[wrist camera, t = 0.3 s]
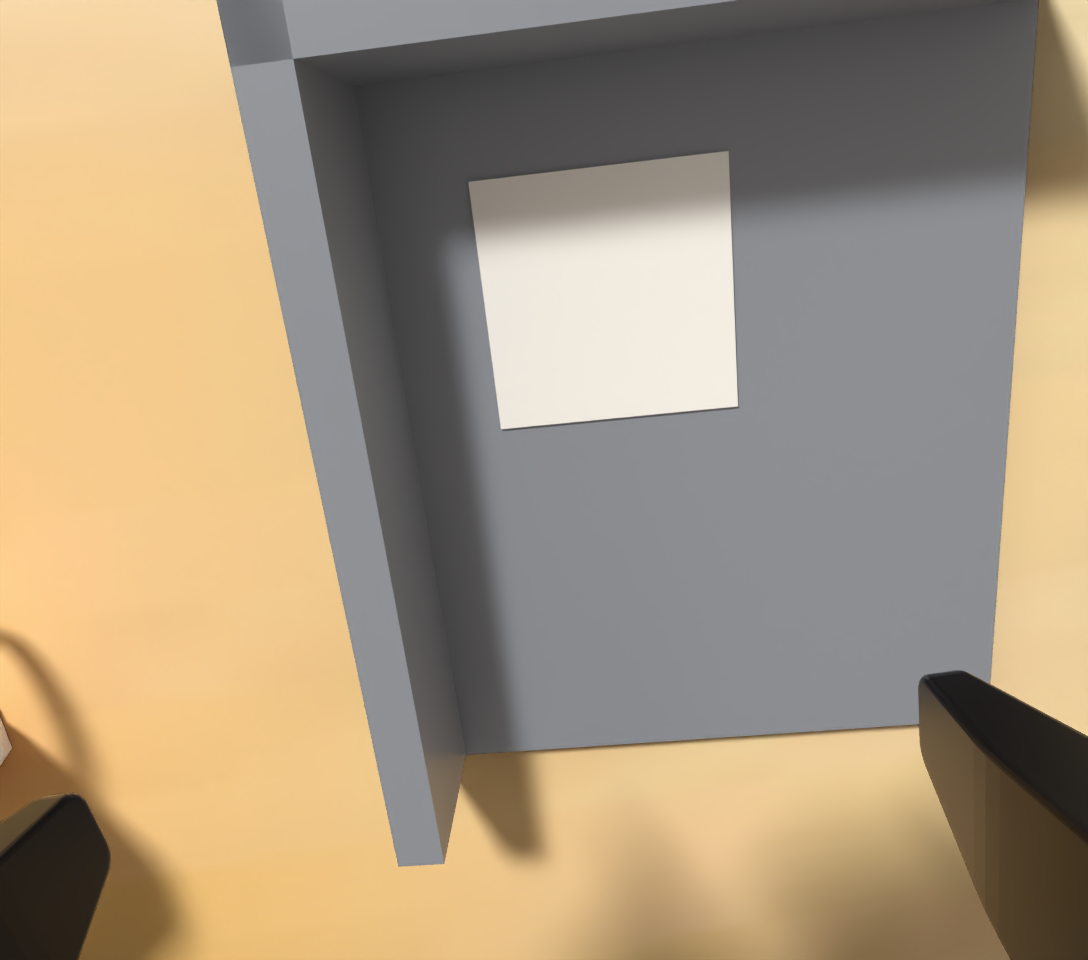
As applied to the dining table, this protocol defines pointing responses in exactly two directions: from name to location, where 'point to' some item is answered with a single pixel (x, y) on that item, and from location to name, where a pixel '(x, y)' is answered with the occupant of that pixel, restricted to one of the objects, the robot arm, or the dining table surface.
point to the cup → (4, 743)
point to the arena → (644, 356)
